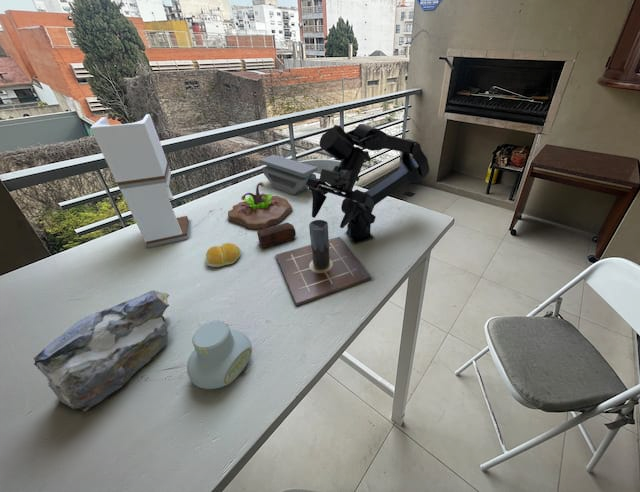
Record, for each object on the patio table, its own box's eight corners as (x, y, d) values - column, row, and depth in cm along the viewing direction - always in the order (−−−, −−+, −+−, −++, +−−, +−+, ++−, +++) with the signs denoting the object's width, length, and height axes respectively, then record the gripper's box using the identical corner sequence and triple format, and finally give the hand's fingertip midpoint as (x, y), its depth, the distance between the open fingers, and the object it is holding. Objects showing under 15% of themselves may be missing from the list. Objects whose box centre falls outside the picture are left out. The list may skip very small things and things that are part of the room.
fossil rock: (167, 329, 65) (159, 275, 59) (194, 348, 62) (189, 293, 56) (44, 402, 48) (16, 336, 42) (74, 435, 44) (48, 368, 39)
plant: (301, 208, 105) (298, 181, 99) (261, 234, 91) (254, 204, 85) (263, 195, 114) (258, 169, 108) (221, 217, 99) (212, 188, 93)
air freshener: (219, 403, 49) (202, 371, 43) (184, 384, 51) (164, 351, 46) (261, 350, 57) (251, 317, 52) (229, 335, 60) (217, 303, 54)
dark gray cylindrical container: (326, 257, 80) (323, 218, 73) (332, 266, 77) (330, 227, 70) (310, 261, 78) (306, 222, 71) (316, 272, 75) (312, 231, 68)
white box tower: (188, 238, 88) (144, 123, 70) (148, 247, 84) (89, 127, 66) (188, 220, 97) (149, 114, 78) (152, 228, 93) (102, 117, 74)
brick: (263, 249, 84) (260, 237, 82) (259, 243, 87) (256, 230, 85) (296, 238, 89) (295, 226, 87) (291, 232, 92) (290, 220, 90)
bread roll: (243, 262, 80) (240, 250, 77) (208, 271, 76) (204, 260, 74) (239, 245, 86) (236, 235, 84) (206, 254, 82) (202, 243, 80)
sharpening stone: (263, 183, 123) (258, 159, 117) (276, 177, 128) (273, 154, 123) (306, 199, 111) (303, 173, 106) (319, 192, 117) (317, 167, 111)
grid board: (339, 239, 89) (339, 236, 89) (370, 279, 74) (370, 276, 74) (276, 257, 81) (275, 254, 81) (296, 306, 67) (296, 302, 66)
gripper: (306, 147, 72) (281, 203, 71) (369, 162, 64) (343, 226, 63) (327, 166, 82) (305, 215, 81) (383, 181, 74) (361, 236, 73)
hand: (326, 222), depth 74 cm, fingers open, 9 cm apart
